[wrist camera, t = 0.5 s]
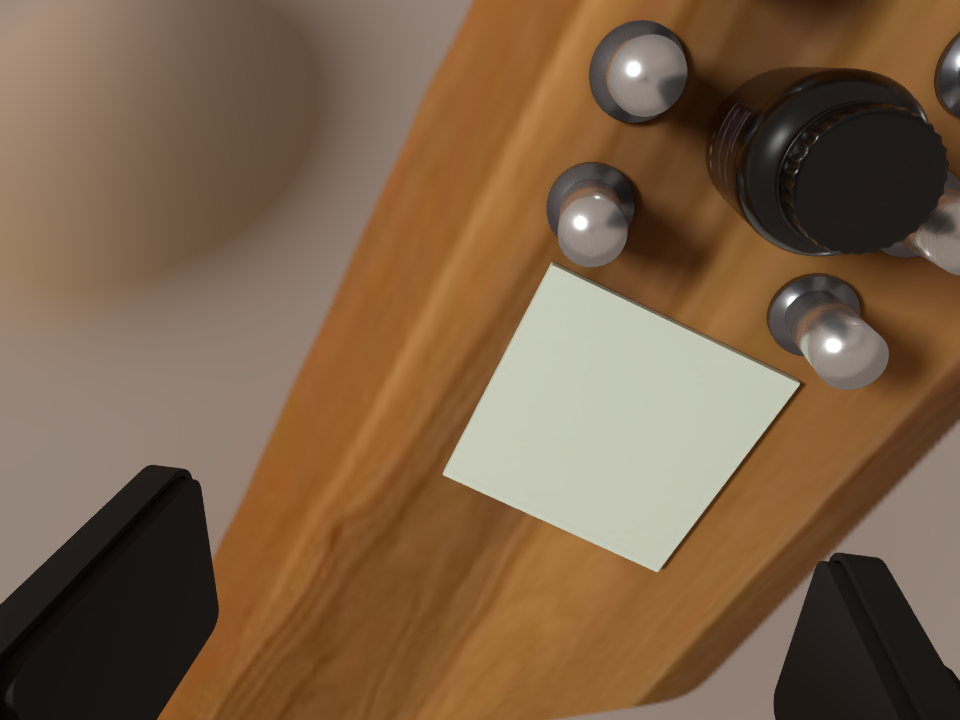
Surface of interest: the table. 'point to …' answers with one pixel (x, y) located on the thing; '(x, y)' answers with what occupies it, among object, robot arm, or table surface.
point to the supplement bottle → (826, 159)
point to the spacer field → (802, 301)
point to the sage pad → (614, 419)
